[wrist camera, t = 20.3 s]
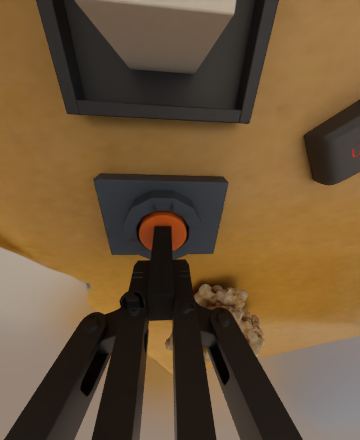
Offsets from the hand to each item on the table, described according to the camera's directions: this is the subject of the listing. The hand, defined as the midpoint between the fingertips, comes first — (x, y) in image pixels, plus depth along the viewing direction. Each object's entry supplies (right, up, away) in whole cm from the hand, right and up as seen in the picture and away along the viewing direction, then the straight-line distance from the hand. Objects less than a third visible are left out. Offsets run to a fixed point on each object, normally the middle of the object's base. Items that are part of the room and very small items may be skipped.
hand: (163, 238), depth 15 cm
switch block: (0, +2, +3) cm, 4 cm away
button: (0, +1, +2) cm, 2 cm away
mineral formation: (+6, -13, +14) cm, 20 cm away
